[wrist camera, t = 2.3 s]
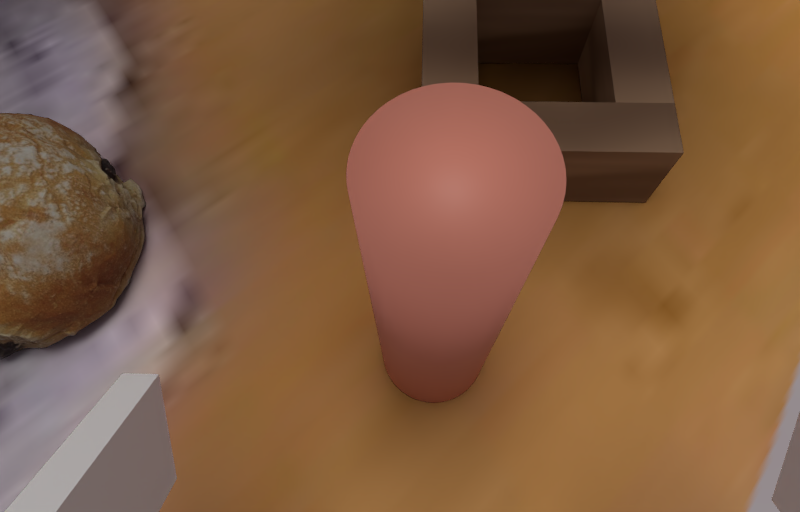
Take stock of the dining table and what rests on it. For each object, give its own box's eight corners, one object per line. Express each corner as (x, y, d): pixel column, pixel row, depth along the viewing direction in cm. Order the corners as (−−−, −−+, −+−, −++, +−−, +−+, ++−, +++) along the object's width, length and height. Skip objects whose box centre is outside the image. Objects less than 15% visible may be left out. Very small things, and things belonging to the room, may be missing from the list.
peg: (368, 327, 24) (315, 125, 11) (456, 290, 25) (503, 56, 12) (407, 419, 23) (398, 309, 10) (500, 377, 23) (608, 221, 10)
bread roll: (196, 295, 29) (197, 171, 23) (-25, 439, 22) (-100, 314, 16) (69, 184, 31) (42, 48, 26) (-163, 283, 25) (-270, 128, 19)
